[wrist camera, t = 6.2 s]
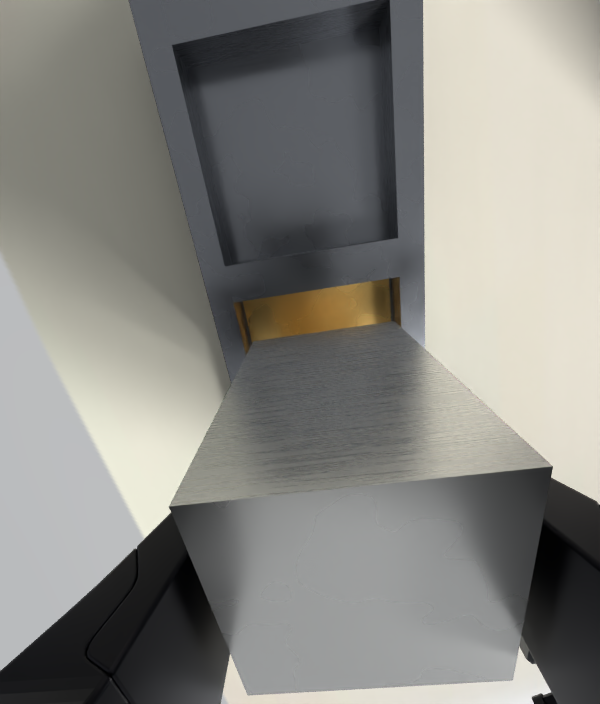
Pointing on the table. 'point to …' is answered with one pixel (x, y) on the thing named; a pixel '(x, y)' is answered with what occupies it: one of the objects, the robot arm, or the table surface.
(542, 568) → the robot arm
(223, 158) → the gray compartment tray
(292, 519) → the metal block
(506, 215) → the table surface
